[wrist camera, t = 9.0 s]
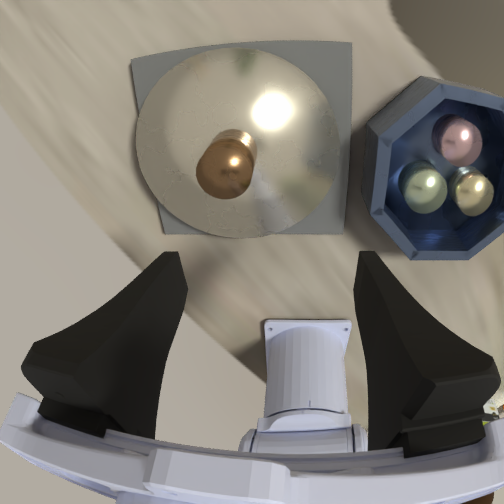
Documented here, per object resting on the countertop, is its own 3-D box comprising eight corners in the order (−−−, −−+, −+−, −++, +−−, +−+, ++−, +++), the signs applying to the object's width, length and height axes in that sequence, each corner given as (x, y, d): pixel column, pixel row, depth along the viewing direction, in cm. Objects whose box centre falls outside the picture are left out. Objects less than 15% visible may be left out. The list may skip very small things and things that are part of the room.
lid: (333, 228, 22) (341, 270, 19) (163, 231, 24) (142, 269, 20) (336, 44, 15) (351, 45, 11) (127, 65, 16) (89, 76, 13)
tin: (485, 237, 22) (501, 260, 19) (355, 234, 23) (362, 260, 21) (518, 99, 15) (543, 111, 12) (368, 69, 16) (381, 74, 14)
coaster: (342, 229, 23) (343, 234, 22) (167, 229, 24) (165, 234, 24) (349, 42, 15) (351, 42, 15) (134, 58, 17) (130, 59, 16)
